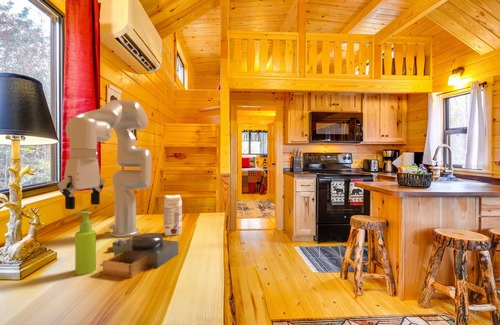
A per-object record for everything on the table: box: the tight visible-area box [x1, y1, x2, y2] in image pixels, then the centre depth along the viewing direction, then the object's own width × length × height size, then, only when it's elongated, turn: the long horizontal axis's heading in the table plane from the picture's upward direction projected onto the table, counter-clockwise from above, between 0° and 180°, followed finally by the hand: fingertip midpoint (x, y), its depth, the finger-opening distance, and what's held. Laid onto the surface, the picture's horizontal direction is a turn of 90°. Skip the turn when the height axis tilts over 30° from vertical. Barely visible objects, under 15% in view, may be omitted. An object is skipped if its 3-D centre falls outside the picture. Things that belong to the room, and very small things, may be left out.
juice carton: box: [163, 194, 183, 237], centre depth 134 cm, size 8×9×19 cm
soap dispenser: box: [71, 210, 97, 276], centre depth 90 cm, size 6×7×20 cm
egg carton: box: [111, 237, 132, 252], centre depth 113 cm, size 11×8×4 cm
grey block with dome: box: [102, 232, 179, 279], centre depth 98 cm, size 18×23×8 cm
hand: (83, 206), depth 89 cm, fingers open, 9 cm apart
